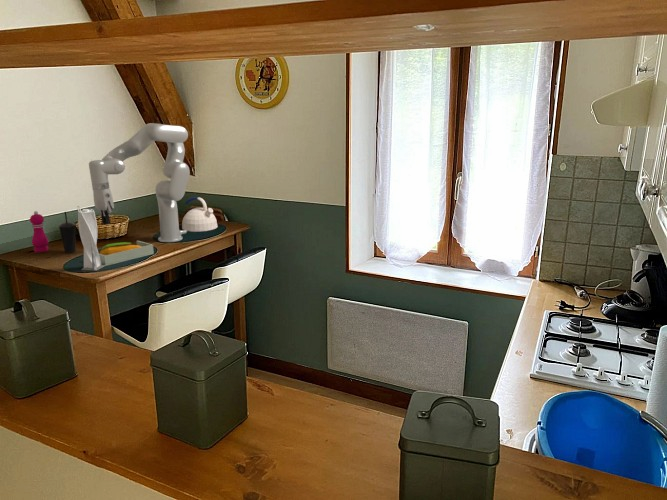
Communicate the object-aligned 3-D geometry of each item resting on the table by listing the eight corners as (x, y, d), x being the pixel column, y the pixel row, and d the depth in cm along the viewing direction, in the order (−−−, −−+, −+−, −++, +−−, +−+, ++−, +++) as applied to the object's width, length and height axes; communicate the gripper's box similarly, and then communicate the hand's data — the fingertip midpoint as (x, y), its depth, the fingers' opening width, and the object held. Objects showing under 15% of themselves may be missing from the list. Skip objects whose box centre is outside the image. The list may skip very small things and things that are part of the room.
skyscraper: (78, 269, 247) (70, 207, 239) (89, 264, 255) (81, 204, 247) (95, 270, 246) (88, 208, 238) (106, 265, 253) (99, 204, 246)
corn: (98, 241, 263) (143, 238, 271) (100, 257, 266) (144, 252, 273) (98, 246, 257) (144, 242, 264) (100, 262, 260) (145, 257, 267)
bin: (138, 249, 279) (137, 240, 278) (153, 253, 272) (153, 244, 271) (90, 260, 260) (89, 251, 259) (105, 265, 253) (104, 256, 251)
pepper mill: (41, 253, 272) (35, 213, 267) (29, 251, 275) (23, 212, 269) (52, 249, 279) (47, 210, 273) (41, 248, 281) (36, 209, 276)
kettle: (200, 233, 312) (198, 201, 307) (174, 229, 322) (171, 198, 317) (225, 226, 328) (223, 196, 323) (199, 222, 339) (197, 193, 334)
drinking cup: (76, 253, 272) (71, 213, 267) (59, 254, 271) (54, 213, 265) (80, 249, 279) (75, 210, 274) (64, 249, 278) (59, 210, 273)
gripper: (116, 186, 264) (122, 224, 270) (99, 183, 273) (105, 220, 279) (102, 189, 259) (107, 227, 264) (85, 186, 268) (91, 223, 273)
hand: (106, 223), depth 271 cm, fingers closed
